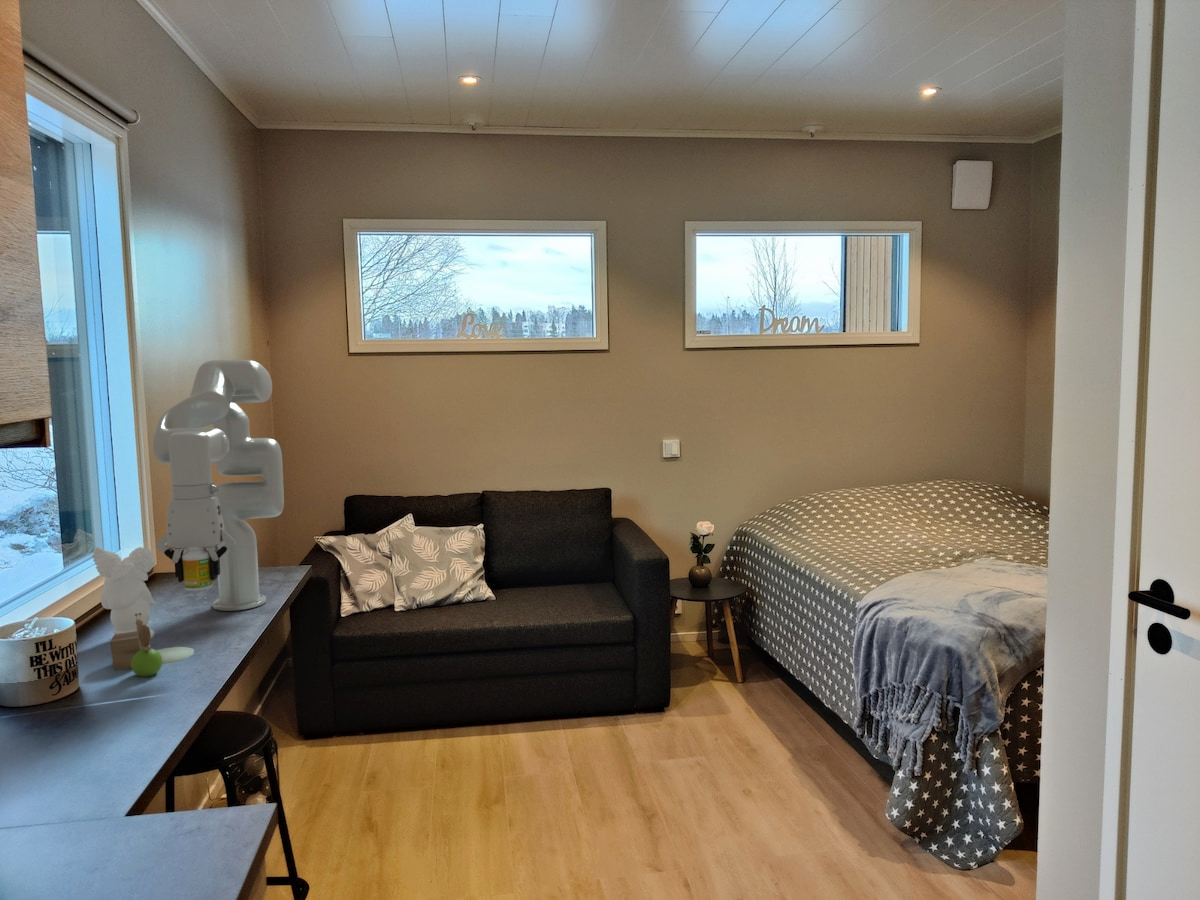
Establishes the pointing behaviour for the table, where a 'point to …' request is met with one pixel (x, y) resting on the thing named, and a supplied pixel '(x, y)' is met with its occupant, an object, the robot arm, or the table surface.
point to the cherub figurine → (126, 587)
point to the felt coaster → (175, 654)
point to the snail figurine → (145, 653)
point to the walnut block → (124, 649)
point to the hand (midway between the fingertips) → (198, 578)
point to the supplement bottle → (196, 569)
